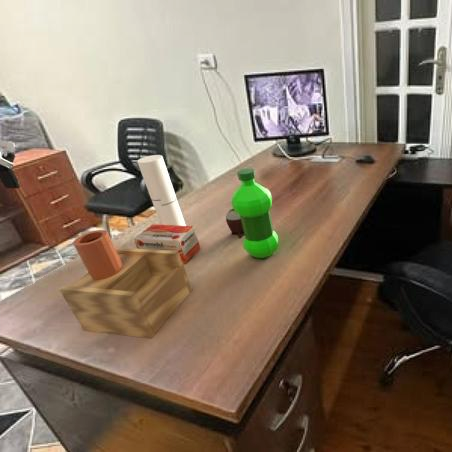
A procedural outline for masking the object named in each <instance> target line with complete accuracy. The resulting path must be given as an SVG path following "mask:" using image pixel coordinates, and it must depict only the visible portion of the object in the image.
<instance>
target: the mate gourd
mask: <svg viewBox="0 0 452 452" xmlns="http://www.w3.org/2000/svg"><path fill="white" fill-rule="evenodd" d="M225 221H226V222H225V223H226V225H227V226H228V229H229V230H230V234H231V235H232V236H234V235H238V239H241V238H242V237H243V234H244V230H243V226H242V222H241V218H240V215H239V214H238V213H236V212H235V211H234V209H233V208H230V209H229V210H228V211H227V213H226V215H225Z"/></svg>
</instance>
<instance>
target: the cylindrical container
mask: <svg viewBox="0 0 452 452" xmlns="http://www.w3.org/2000/svg"><path fill="white" fill-rule="evenodd" d="M136 163H137V165H138V168H139V170H140V173H141V177H142V178H143V180H144V184H145V186H146V189H147V192H148V194H149V197H150V200H151V202H152V205H153V208H154V210H155V213H156V215H157V218H158V221H159V225H177V226H187V225H186V222H185V220H184V216H183V214H182V211H181V207H180V205H179V201H178V198H177V196H176V193H175V189H174V187H173V183H172V181H171V177H170V174H169V172H168V168H167V166H166V162H165V160H164V157H163V155H161V154H154V155H153V154H152V155H148V156H143V157H141V158H139V159H137V161H136Z"/></svg>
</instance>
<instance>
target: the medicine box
mask: <svg viewBox="0 0 452 452" xmlns="http://www.w3.org/2000/svg"><path fill="white" fill-rule="evenodd" d="M133 240H134V244H135V246H136V249H151V250H169V251H178V252H179V255H180V257H181V260H182V263H183V264H187V263H188V262H189V261H190V260H191V259H192V258H193V257H194V256H195V255H196V254H197V253H198V252H199V251H200V250H201V246H200V245H201V244H200V242H199V239H198V236H197V234H196V231H195V228H194V226H193V225H186V226H177V225H161V224H151V225H149V226H148V227H147V228H145V229H144V230H143V231H142V232H140V233H139V234H138V235H136V236H135V237H133Z"/></svg>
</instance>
